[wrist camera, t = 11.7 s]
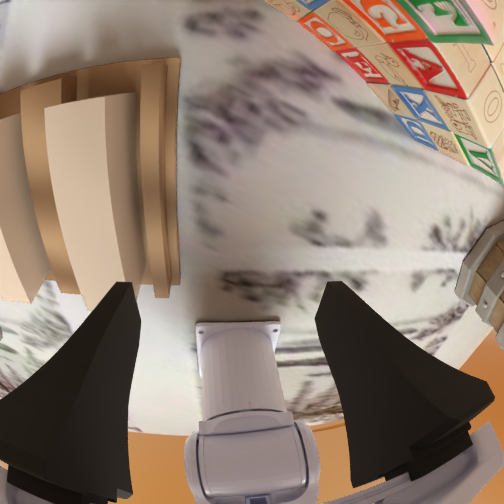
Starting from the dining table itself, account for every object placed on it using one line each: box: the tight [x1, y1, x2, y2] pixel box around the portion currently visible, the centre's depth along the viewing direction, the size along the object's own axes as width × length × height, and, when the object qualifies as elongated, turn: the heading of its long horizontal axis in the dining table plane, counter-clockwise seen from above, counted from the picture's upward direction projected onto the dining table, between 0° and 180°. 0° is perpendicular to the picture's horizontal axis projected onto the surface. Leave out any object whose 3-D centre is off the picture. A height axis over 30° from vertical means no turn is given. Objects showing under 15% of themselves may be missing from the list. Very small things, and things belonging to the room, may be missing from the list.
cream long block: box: [44, 92, 146, 311], centre depth 14 cm, size 12×3×5 cm, turn 175°
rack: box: [0, 58, 181, 298], centre depth 15 cm, size 16×16×3 cm
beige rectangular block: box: [0, 113, 52, 304], centre depth 12 cm, size 12×3×5 cm, turn 174°
